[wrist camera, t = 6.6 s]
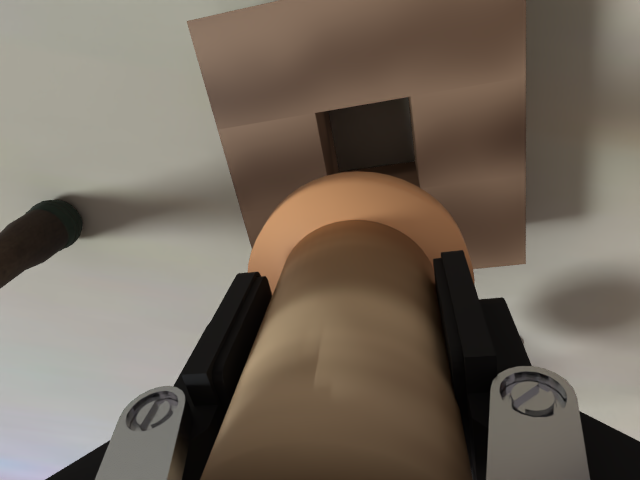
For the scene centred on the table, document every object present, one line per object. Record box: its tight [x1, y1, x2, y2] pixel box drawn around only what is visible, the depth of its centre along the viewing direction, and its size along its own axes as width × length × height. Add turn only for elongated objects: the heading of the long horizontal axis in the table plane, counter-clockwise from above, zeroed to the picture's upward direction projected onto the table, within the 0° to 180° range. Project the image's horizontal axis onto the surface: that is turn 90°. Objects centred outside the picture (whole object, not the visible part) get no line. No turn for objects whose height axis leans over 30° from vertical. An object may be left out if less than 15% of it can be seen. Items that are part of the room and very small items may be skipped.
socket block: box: [187, 0, 526, 269], centre depth 27 cm, size 16×16×5 cm
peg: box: [200, 171, 474, 480], centre depth 13 cm, size 6×6×13 cm
